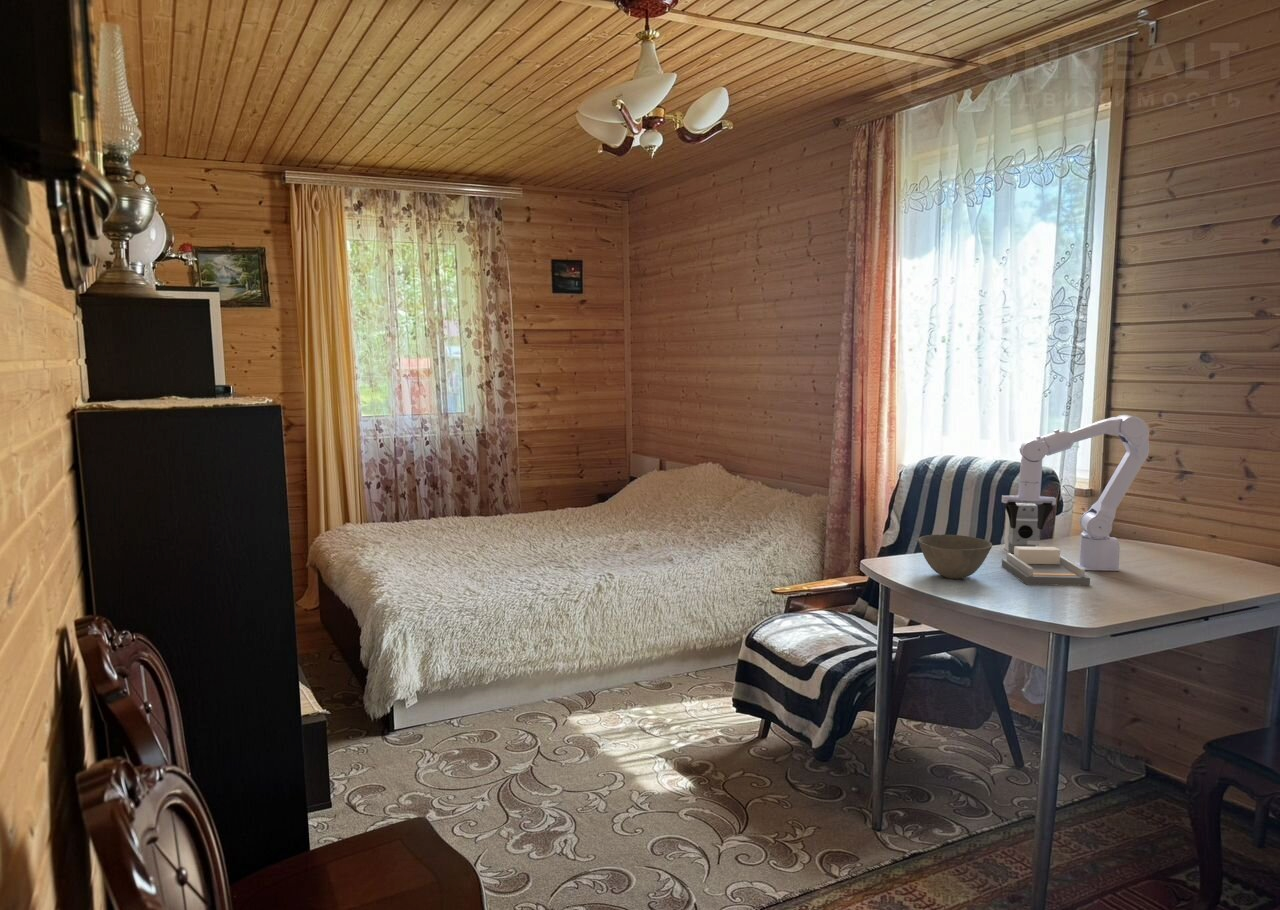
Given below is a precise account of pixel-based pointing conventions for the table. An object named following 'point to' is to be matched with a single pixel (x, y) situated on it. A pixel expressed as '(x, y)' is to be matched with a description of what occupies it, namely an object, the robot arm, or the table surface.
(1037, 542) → the circuit breaker
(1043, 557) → the breaker toggle
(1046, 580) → the grey shallow rectangular tray
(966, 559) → the bowl
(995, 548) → the table surface
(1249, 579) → the table surface
